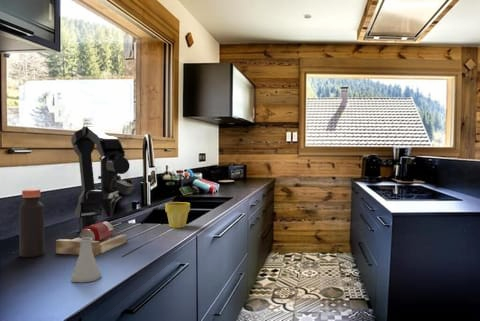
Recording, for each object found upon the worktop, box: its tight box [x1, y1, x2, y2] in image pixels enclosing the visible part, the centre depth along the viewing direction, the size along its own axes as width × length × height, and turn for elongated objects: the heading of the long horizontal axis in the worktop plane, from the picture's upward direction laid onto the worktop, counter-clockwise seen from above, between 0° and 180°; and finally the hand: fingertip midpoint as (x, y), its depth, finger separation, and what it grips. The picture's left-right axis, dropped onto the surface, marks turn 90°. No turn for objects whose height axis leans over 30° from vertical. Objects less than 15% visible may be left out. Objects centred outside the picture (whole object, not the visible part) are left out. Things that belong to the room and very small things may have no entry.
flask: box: [70, 237, 102, 283], centre depth 94 cm, size 7×7×10 cm
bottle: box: [18, 188, 46, 258], centre depth 117 cm, size 7×7×20 cm
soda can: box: [79, 220, 115, 243], centre depth 131 cm, size 7×7×12 cm
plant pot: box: [164, 201, 191, 229], centre depth 160 cm, size 10×10×10 cm
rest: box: [55, 234, 127, 257], centre depth 126 cm, size 14×18×4 cm
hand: (109, 216), depth 135 cm, fingers closed
